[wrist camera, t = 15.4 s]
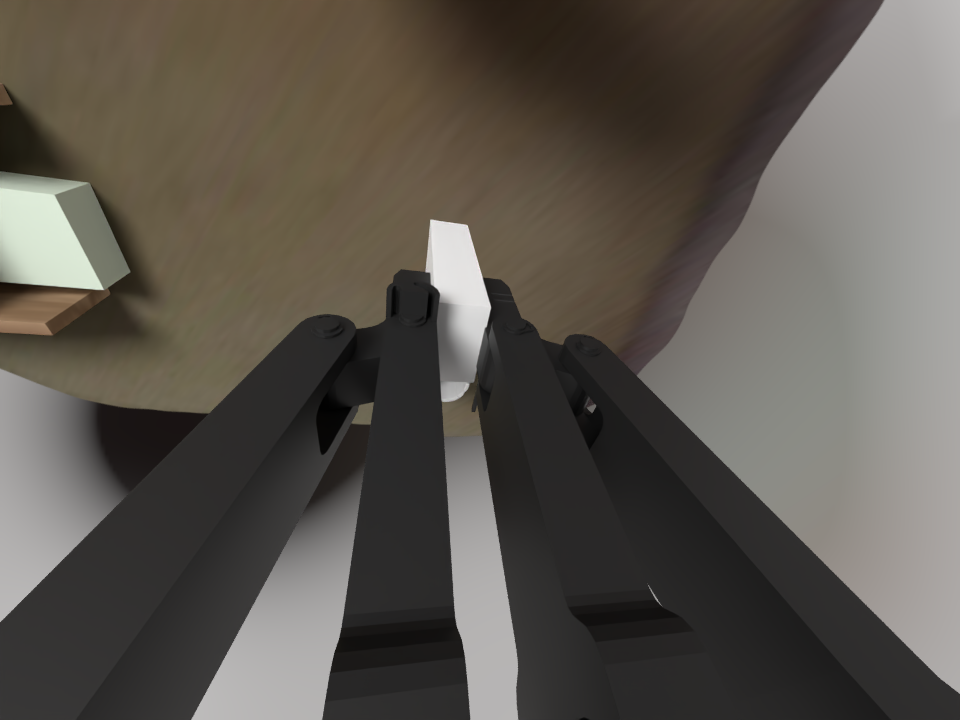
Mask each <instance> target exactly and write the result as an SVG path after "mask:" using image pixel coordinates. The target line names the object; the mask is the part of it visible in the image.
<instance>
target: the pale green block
mask: <svg viewBox="0 0 960 720" xmlns="http://www.w3.org/2000/svg"><path fill="white" fill-rule="evenodd" d="M128 273H130V270H129V268H128V265H127V263H126V261H125V259H124V257H123V254H122V252H121V250H120V248H119V246H118V244H117V241H116V239H115V237H114V235H113V233H112V231H111V228H110V226H109V224H108V222H107V220H106V217H105V215H104V213H103V211H102V209H101V207H100V204H99V202H98V200H97V198H96V196H95V194H94V191H93V189H92V187H91V185H90V183H86V182H78V181H71V180H63V179H56V178H48V177H41V176H33V175H25V174H18V173H10V172H3V171H0V282H9V283H21V284H33V285H46V286H58V287H71V288H83V289H95V290H105V289H107V288H108V287H110V286H111V285H112V284H114V283H115V282H117V281H118V280H120V279H121V278H123V277H124V276H126V275H127V274H128Z"/></svg>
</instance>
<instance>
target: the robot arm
mask: <svg viewBox="0 0 960 720" xmlns="http://www.w3.org/2000/svg"><path fill="white" fill-rule="evenodd" d="M476 371H477V374H478V379H479V380H478V384H477V388H476V393H475V397H474V401H473V405H472V412H475V410H476V406H477V405H478V411H479V418H480V424H481V430H482V436H483V443H484V449H485V455H486V461H487V468H488V473H489V480H490V486H491V493H492V499H493V505H494V512H495V517H496V524H497V530H498V536H499V543H500V549H501V555H502V562H503V568H504V574H505V580H506V587H507V592H508V599H509V605H510V612H511V618H512V624H513V630H514V637H515V643H516V649H517V657H518V677H517V687H516V689H517V690H516V692H517V710H518V719H519V720H960V694H959V693H958V692H956V691H955V690H954V689H953V688H951V687H950V686H949V685H948V684H946V683H945V682H944V681H942V680H941V679H940V678H939V677H937V675H936V674H935V673H934V672H933V671H932V670H931V669H930V668H928V666H926V664H925V663H924V662H923V661H922V660H921V659H919V658H918V657H917V656H916V655H915V654H914V653H913V652H912V651H911V650H910V649H909V648H908V647H907V646H906V645H905V644H904V643H903V642H902V641H901V640H900V639H899V638H898V637H897V636H896V635H895V634H894V633H893V632H892V631H891V630H890V629H889V628H888V627H887V626H886V625H885V624H884V623H883V622H882V621H881V620H880V619H879V618H878V617H877V616H876V615H875V614H874V613H873V612H872V611H871V610H870V609H869V608H868V607H867V606H866V605H865V604H864V603H863V602H862V601H861V600H860V599H859V598H858V597H857V596H856V595H855V594H854V593H853V592H852V591H851V590H850V589H849V588H848V587H847V586H846V585H845V584H844V583H843V582H842V581H841V580H840V579H839V578H838V577H837V576H836V575H835V574H834V573H833V572H832V571H831V570H830V569H829V568H828V567H827V566H826V565H825V564H824V563H823V562H822V561H821V560H820V559H819V558H818V557H817V556H816V555H815V554H814V553H813V552H812V551H811V550H810V549H809V548H808V547H807V546H806V545H805V544H804V543H803V542H802V541H801V540H800V539H799V538H798V537H797V536H796V535H795V534H794V533H793V532H792V531H791V530H790V529H789V528H788V527H787V526H786V525H785V524H784V523H783V522H782V521H781V520H780V519H779V518H778V517H777V516H776V515H775V514H774V513H773V512H772V511H771V510H770V509H769V508H768V507H767V506H766V505H765V504H764V503H763V502H762V501H761V500H760V499H759V498H758V497H757V496H756V495H755V494H754V493H753V492H752V491H751V490H750V489H749V488H748V487H747V486H746V485H745V484H744V483H743V482H742V481H741V480H740V479H739V478H738V477H737V476H736V475H735V474H734V473H733V472H732V471H731V470H730V469H729V468H728V467H727V466H726V465H725V464H724V463H723V462H722V461H721V460H720V459H719V458H718V457H717V456H716V455H715V454H714V453H713V452H712V451H711V450H710V449H709V448H708V447H707V446H706V445H705V444H704V443H703V442H702V441H701V440H700V439H699V438H698V437H697V436H696V435H695V434H694V433H693V432H692V431H691V430H690V429H689V428H688V427H687V426H686V425H685V424H684V423H683V422H682V421H681V420H680V419H679V418H678V417H677V416H676V415H675V414H674V413H673V412H672V411H671V410H670V409H669V408H668V407H667V406H666V405H665V404H664V403H663V402H662V401H661V400H660V399H659V398H658V397H657V396H656V395H655V394H654V393H653V392H652V391H651V390H650V389H649V388H648V387H647V386H646V385H645V384H644V383H643V382H642V381H641V380H640V379H639V378H638V377H637V376H636V375H635V374H634V373H633V372H632V371H631V370H630V369H629V368H628V367H627V366H626V365H625V364H624V363H623V362H622V361H621V360H620V359H619V358H618V357H617V356H616V355H615V354H614V353H613V352H612V351H611V350H610V349H609V348H608V347H607V346H606V345H605V344H603V343H602V342H601V341H599V340H597V339H595V338H594V337H591V336H587V335H581V334H574V335H570V336H568V337H567V338H566V339H565V341H564V344H563V345H559V344H556V343H552V342H549V341H546V340H543V339H541V338H540V336H539V333H538V331H537V329H536V328H535V327H534V325H533V324H531V323H530V322H528V321H527V320H524V319H522V318H521V316H520V314H519V311H518V309H517V306H516V304H515V302H514V298H513V296H512V293H511V291H510V288H509V287H508V286H507V285H506V284H505V283H504V282H503V281H502V280H499V279H491V278H482V274H481V271H480V267H479V264H478V261H477V257H476V254H475V250H474V247H473V243H472V240H471V236H470V233H469V229H468V226H467V225H463V224H456V223H449V222H442V221H435V220H431V221H430V231H429V242H428V253H427V263H426V272H420V271H411V270H402V269H401V270H400V271H399V272H398V273H396V274H395V275H394V279H393V283H391V284H390V285H389V286H388V288H387V300H386V320H385V321H384V322H382V323H380V324H379V325H376V326H373V327H368V328H362V329H356V327H355V325H354V323H353V322H352V321H350V320H349V319H348V318H345V317H342V316H339V315H330V314H324V315H316V316H313V317H310V318H307V319H305V320H304V321H302V322H301V323H299V324H298V325H297V326H296V327H295V328H294V329H293V330H292V331H291V332H290V333H289V334H288V335H287V336H286V337H285V338H284V339H283V340H282V341H281V342H280V343H279V344H278V345H277V346H276V347H275V348H274V349H273V350H272V351H271V352H270V353H269V354H268V355H267V356H266V357H265V358H264V359H263V360H262V361H261V362H260V363H259V364H258V365H257V366H256V367H255V368H254V369H253V370H252V371H251V372H250V373H249V374H248V375H247V376H246V377H245V378H244V379H243V380H242V381H241V382H240V383H239V384H238V385H237V386H236V387H235V388H234V389H233V390H232V391H231V392H230V393H229V394H228V395H227V396H226V397H225V398H224V399H223V400H222V401H221V402H220V403H219V404H218V405H217V406H216V407H215V408H214V409H213V410H212V411H211V412H210V413H209V414H208V415H207V417H205V418H204V419H203V420H202V421H201V422H200V423H199V424H198V425H197V426H196V427H195V428H194V429H193V430H192V431H191V432H190V433H189V434H188V435H187V436H186V437H185V438H184V439H183V440H182V441H181V442H180V444H178V445H177V446H176V447H175V448H174V449H173V450H172V451H171V453H169V454H168V455H167V456H166V458H164V459H163V460H162V461H161V462H160V463H159V464H158V466H156V467H155V468H154V469H153V470H152V472H150V474H148V475H147V476H146V478H144V479H143V480H142V481H141V482H140V483H139V484H138V485H137V486H136V487H135V488H134V489H133V490H132V491H131V492H130V493H129V494H128V495H127V497H125V498H124V499H123V500H122V501H121V502H120V503H119V504H118V505H117V506H116V507H115V508H114V509H113V510H112V511H111V512H110V513H109V514H108V515H107V516H106V517H105V518H104V519H103V520H102V521H101V522H100V523H99V524H98V525H97V526H96V527H95V528H94V529H93V530H92V531H91V532H90V533H89V534H88V535H87V536H86V537H85V538H84V539H83V540H82V541H81V542H80V543H79V544H78V545H77V546H76V547H75V548H74V549H73V550H72V551H71V552H70V553H69V554H68V555H67V556H66V557H65V558H64V559H63V560H62V561H61V562H60V563H59V564H58V565H57V566H56V567H55V568H54V569H53V570H52V571H51V572H50V573H49V574H48V575H47V576H46V577H45V578H44V579H43V580H42V581H41V582H40V583H39V584H38V585H37V587H35V588H34V589H33V590H32V591H31V592H30V593H29V594H28V595H27V596H26V597H25V598H24V599H23V600H22V601H21V602H20V603H19V604H18V605H17V606H16V607H15V608H14V609H13V610H12V611H11V612H10V613H9V614H8V615H7V616H6V617H5V618H4V619H3V620H2V621H1V622H0V720H191V719H192V717H193V715H194V713H195V711H196V710H197V707H198V706H199V704H200V702H201V700H202V699H203V696H204V695H205V693H206V691H207V689H208V687H209V686H210V684H211V682H212V680H213V678H214V676H215V674H216V673H217V671H218V669H219V667H220V665H221V663H222V661H223V660H224V658H225V656H226V654H227V652H228V650H229V649H230V647H231V645H232V643H233V641H234V639H235V637H236V636H237V634H238V631H239V630H240V628H241V626H242V624H243V623H244V621H245V619H246V617H247V615H248V613H249V611H250V610H251V608H252V606H253V604H254V602H255V600H256V598H257V596H258V595H259V593H260V591H261V589H262V587H263V586H264V584H265V582H266V580H267V578H268V576H269V574H270V572H271V571H272V569H273V567H274V565H275V563H276V561H277V560H278V557H279V556H280V554H281V552H282V550H283V548H284V546H285V545H286V543H287V541H288V539H289V537H290V535H291V534H292V532H293V530H294V528H295V526H296V524H297V523H298V521H299V518H300V517H301V515H302V513H303V511H304V510H305V508H306V506H307V504H308V502H309V500H310V498H311V497H312V495H313V493H314V491H315V489H316V487H317V485H318V483H319V482H320V480H321V478H322V476H323V474H324V472H325V471H326V469H327V467H328V465H329V463H330V461H331V459H332V458H333V456H334V454H335V452H336V450H337V448H338V447H339V445H340V443H341V441H342V439H343V437H344V435H345V434H346V432H347V430H348V428H349V426H350V424H351V422H352V421H353V419H354V417H355V415H356V413H357V411H358V407H359V405H361V404H366V403H371V402H374V406H373V413H372V420H371V427H370V434H369V441H368V448H367V455H366V462H365V469H364V476H363V483H362V490H361V498H360V504H359V511H358V518H357V525H356V532H355V539H354V546H353V553H352V560H351V567H350V574H349V581H348V588H347V595H346V602H345V609H344V616H343V622H342V628H341V633H340V638H339V641H338V644H337V647H336V650H335V653H334V657H333V661H332V666H331V671H330V676H329V682H328V688H327V694H326V700H325V706H324V712H323V719H322V720H470V710H469V698H468V684H467V674H466V664H465V655H464V650H463V644H462V639H461V637H460V634H459V632H458V629H457V626H456V620H455V611H454V597H453V581H452V564H451V548H450V531H449V515H448V498H447V483H446V466H445V449H444V433H443V416H442V400H441V383H440V381H450V382H470V383H474V380H475V375H476ZM590 398H591V399H592V401H593V402H594V403H595V404H596V408H595V410H594V412H593V413H591V412H590V411H589V410H588V409H587V408H586V405H587V403H588V401H589V399H590ZM647 583H648V584H647ZM648 585H649V586H650V588H651V589H652V591H653V593H654V594H655V596H656V598H657V599H658V601H659V602H660V604H661V605H662V606H661V605H660V604H659V603H658V602H657V601H656V600H655V598H654V596H653V594H652V592H651V591H650V589H649V586H648Z"/></svg>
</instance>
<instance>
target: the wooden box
mask: <svg viewBox="0 0 960 720" xmlns="http://www.w3.org/2000/svg"><path fill="white" fill-rule="evenodd" d="M11 104H13V103H12V101H11V99H10V98H9V96H8V94H7V92H6V90H5V88H4V86H3V84H1V83H0V105H11ZM110 294H111V293H110V291H109V289H108V288H107V289H105V290H95V289H83V288H71V287H58V286H46V285H33V284H21V283H9V282H0V332H4V333H21V334H38V335H54V334H56V333H57V332H58V331H60V330H61V329H63V328H64V327H65V326H67V325H68V324H70V323H71V322H72V321H74V320H75V319H77V318H78V317H79V316H81V315H82V314H84V313H85V312H86V311H88V310H89V309H91V308H92V307H93V306H95V305H96V304H98V303H99V302H100V301H102V300H103V299H105V298H106V297H107V296H109V295H110Z"/></svg>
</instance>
